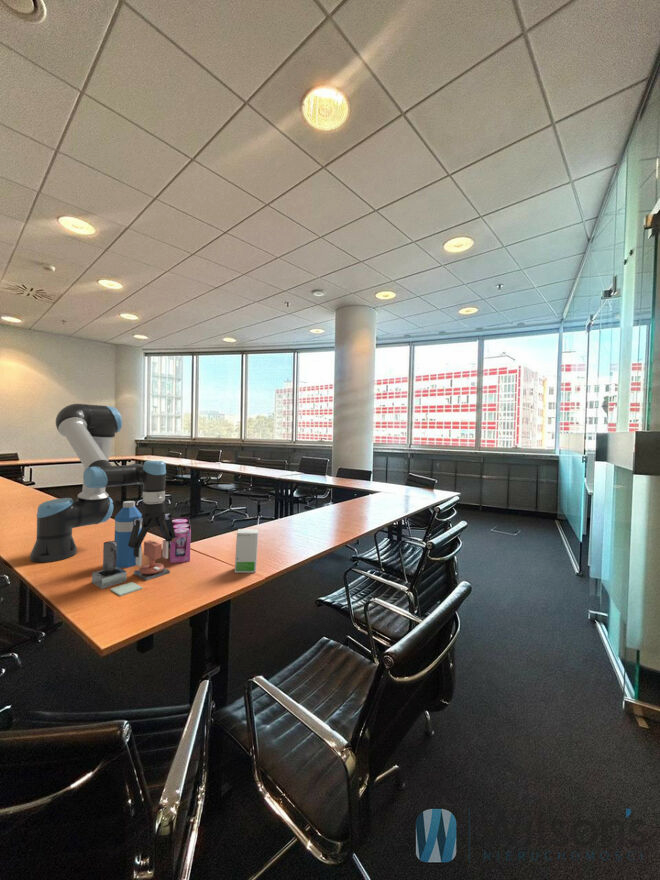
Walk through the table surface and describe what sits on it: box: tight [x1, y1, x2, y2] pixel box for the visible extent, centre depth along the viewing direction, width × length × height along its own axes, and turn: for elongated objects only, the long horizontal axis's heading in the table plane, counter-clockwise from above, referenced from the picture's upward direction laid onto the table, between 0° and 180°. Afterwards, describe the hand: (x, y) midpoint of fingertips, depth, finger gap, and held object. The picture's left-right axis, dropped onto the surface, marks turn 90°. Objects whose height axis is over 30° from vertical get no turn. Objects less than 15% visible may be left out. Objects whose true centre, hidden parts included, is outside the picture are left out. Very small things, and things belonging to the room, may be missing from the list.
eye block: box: [91, 566, 128, 590], centre depth 121 cm, size 8×8×4 cm
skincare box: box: [234, 528, 259, 574], centre depth 136 cm, size 8×7×16 cm
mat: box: [110, 581, 143, 597], centre depth 116 cm, size 7×7×1 cm
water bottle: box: [113, 500, 143, 569], centre depth 138 cm, size 9×9×25 cm
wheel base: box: [133, 567, 171, 581], centre depth 130 cm, size 9×9×1 cm
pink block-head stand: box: [139, 539, 165, 574], centre depth 130 cm, size 8×8×10 cm
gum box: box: [169, 516, 192, 564], centre depth 151 cm, size 24×8×14 cm, turn 24°
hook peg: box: [102, 540, 117, 577], centre depth 121 cm, size 6×4×14 cm
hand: (152, 561), depth 130 cm, fingers open, 9 cm apart
